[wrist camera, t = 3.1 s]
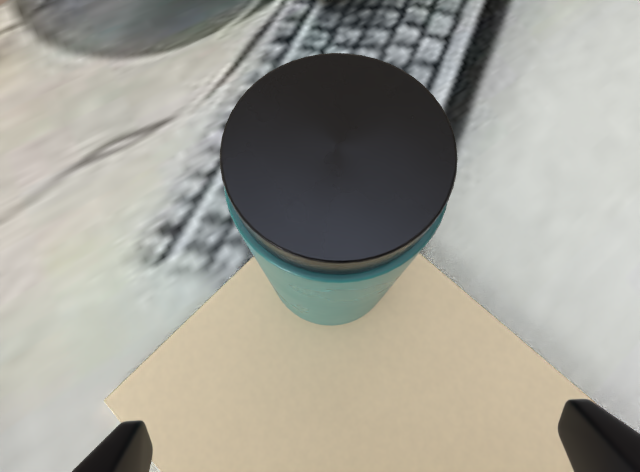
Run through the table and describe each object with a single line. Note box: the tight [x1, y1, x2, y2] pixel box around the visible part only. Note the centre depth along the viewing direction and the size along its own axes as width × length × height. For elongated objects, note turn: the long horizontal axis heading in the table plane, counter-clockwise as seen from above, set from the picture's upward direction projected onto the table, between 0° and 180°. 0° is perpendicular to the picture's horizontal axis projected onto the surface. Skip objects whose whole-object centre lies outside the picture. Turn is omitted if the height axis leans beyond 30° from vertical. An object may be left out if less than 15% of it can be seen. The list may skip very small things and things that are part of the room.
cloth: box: [104, 253, 599, 472], centre depth 20 cm, size 21×17×1 cm
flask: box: [220, 53, 457, 326], centre depth 16 cm, size 7×7×12 cm
